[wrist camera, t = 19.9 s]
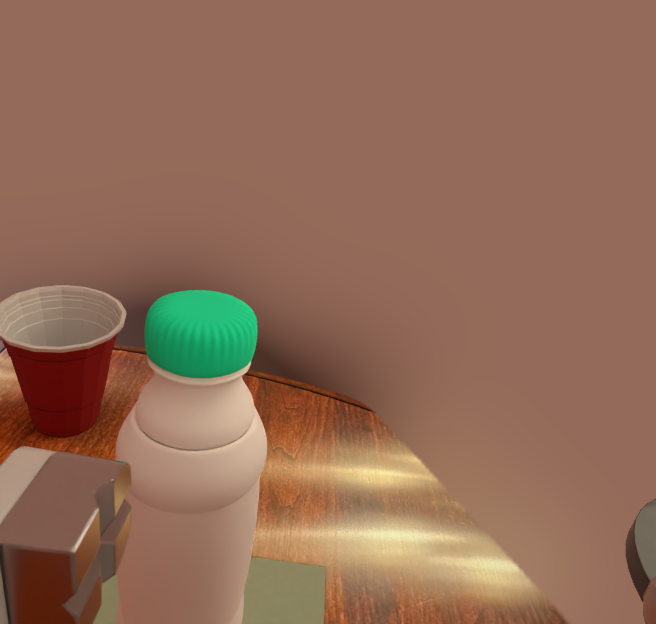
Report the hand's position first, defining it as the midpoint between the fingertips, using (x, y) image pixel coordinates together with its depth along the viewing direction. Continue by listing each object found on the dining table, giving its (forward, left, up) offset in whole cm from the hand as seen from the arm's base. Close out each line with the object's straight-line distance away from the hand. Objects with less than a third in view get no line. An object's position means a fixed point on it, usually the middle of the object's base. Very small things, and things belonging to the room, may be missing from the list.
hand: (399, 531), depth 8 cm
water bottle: (+6, -15, -29) cm, 33 cm away
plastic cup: (+23, -37, -30) cm, 53 cm away
